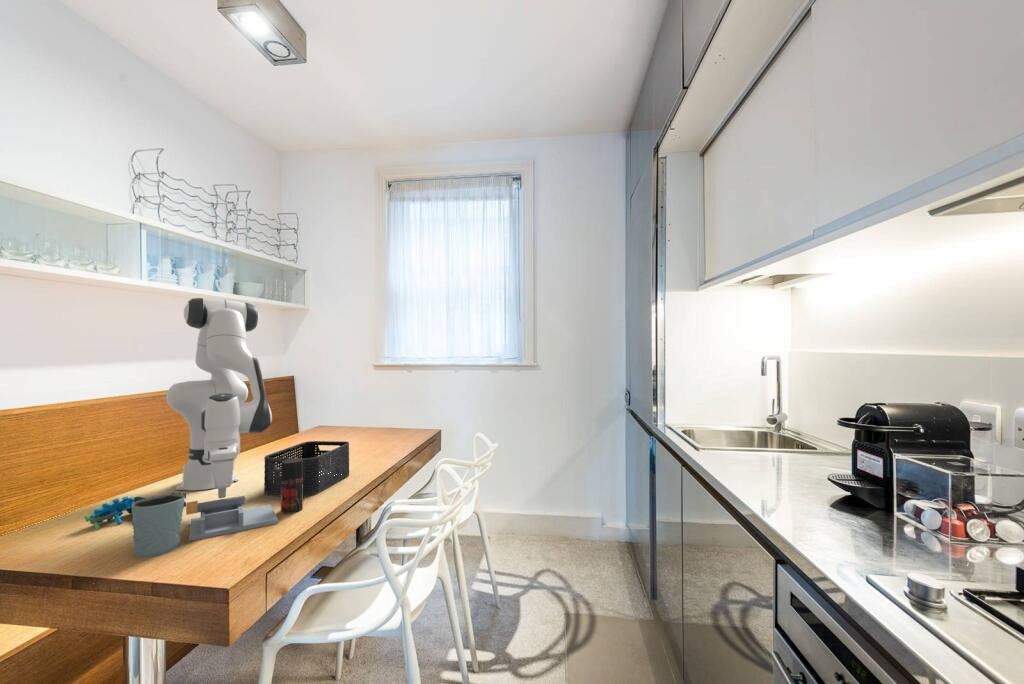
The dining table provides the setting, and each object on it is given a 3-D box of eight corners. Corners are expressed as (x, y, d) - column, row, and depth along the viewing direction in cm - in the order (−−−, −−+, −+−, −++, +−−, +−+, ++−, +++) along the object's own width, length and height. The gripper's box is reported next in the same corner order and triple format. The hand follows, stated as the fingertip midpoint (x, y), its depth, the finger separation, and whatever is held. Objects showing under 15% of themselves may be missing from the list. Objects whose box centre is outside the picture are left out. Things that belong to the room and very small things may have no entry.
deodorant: (277, 510, 132) (278, 461, 133) (298, 505, 137) (298, 457, 137) (285, 515, 128) (285, 464, 129) (305, 509, 133) (306, 460, 133)
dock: (191, 523, 122) (191, 506, 123) (271, 508, 134) (271, 493, 134) (189, 541, 110) (189, 522, 110) (277, 523, 122) (277, 506, 122)
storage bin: (312, 497, 145) (312, 457, 146) (259, 496, 147) (259, 456, 148) (352, 474, 174) (352, 441, 174) (307, 474, 176) (307, 440, 176)
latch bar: (186, 512, 118) (186, 502, 118) (244, 502, 126) (244, 493, 126) (186, 514, 116) (186, 505, 116) (244, 504, 123) (244, 495, 124)
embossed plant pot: (122, 562, 99) (123, 509, 100) (139, 545, 108) (140, 496, 109) (176, 553, 103) (177, 502, 104) (188, 537, 112) (189, 491, 113)
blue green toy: (129, 508, 130) (136, 489, 126) (137, 524, 129) (145, 505, 125) (80, 526, 121) (86, 506, 117) (88, 543, 119) (94, 523, 115)
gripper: (209, 445, 134) (208, 490, 133) (209, 456, 117) (209, 508, 117) (233, 443, 138) (232, 486, 137) (237, 453, 121) (236, 503, 120)
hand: (221, 496), depth 127 cm, fingers closed
